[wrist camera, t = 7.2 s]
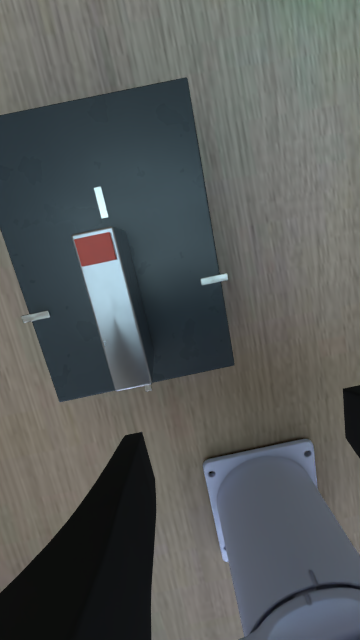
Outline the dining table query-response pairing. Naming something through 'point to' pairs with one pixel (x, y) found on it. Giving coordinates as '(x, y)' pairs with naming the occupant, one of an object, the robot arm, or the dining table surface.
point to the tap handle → (116, 305)
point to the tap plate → (117, 211)
